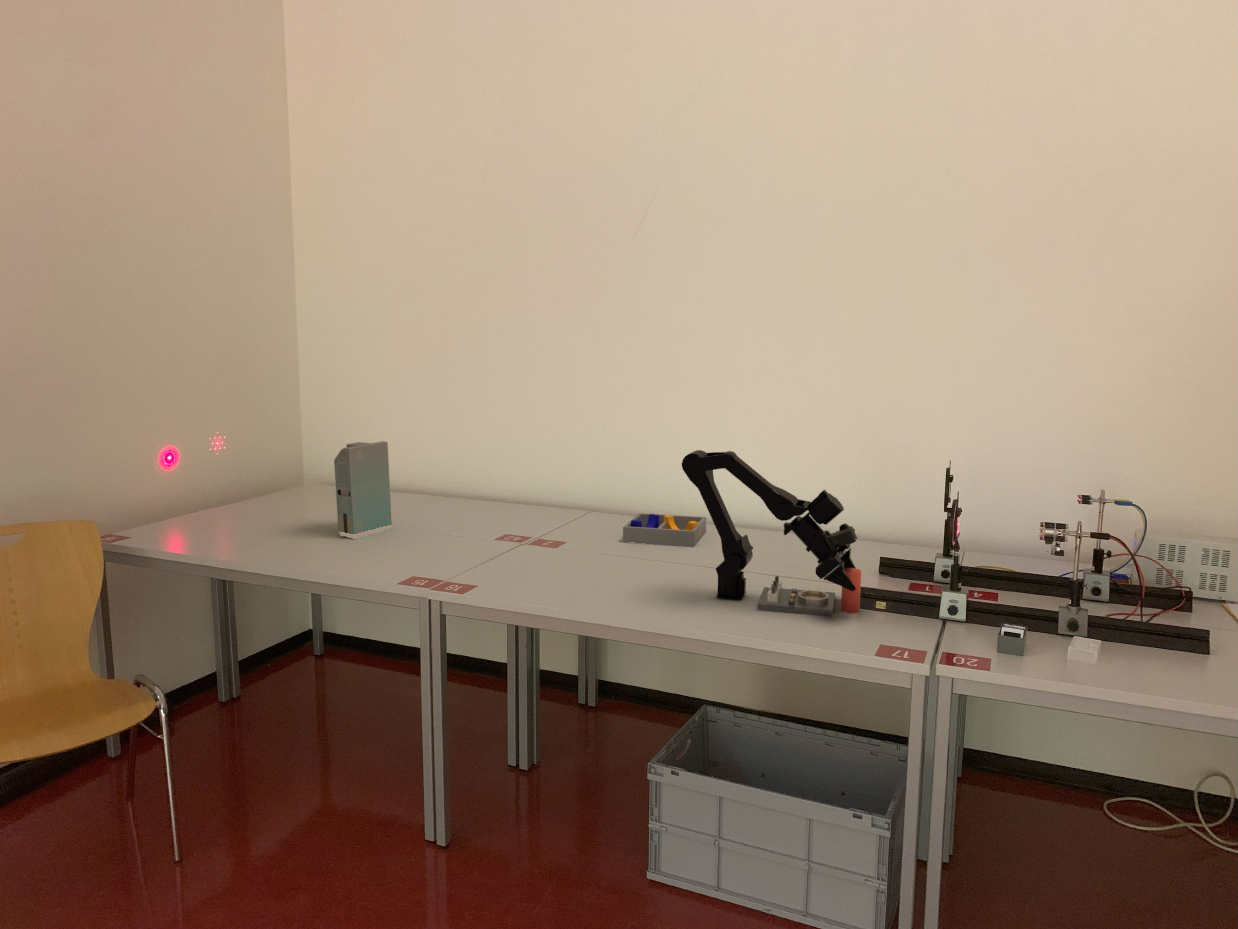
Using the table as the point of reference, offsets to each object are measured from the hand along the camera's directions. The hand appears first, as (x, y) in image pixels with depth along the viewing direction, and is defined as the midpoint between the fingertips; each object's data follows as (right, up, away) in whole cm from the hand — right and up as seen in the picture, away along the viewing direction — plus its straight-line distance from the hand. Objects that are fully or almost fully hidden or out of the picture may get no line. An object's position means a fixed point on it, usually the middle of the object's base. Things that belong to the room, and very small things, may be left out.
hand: (857, 584), depth 217 cm
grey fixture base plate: (-13, -6, +6) cm, 16 cm away
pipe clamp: (-38, +5, +72) cm, 81 cm away
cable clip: (-49, +6, +75) cm, 90 cm away
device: (-143, +6, +81) cm, 164 cm away
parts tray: (-43, +6, +73) cm, 85 cm away
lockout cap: (-1, -6, +2) cm, 7 cm away
